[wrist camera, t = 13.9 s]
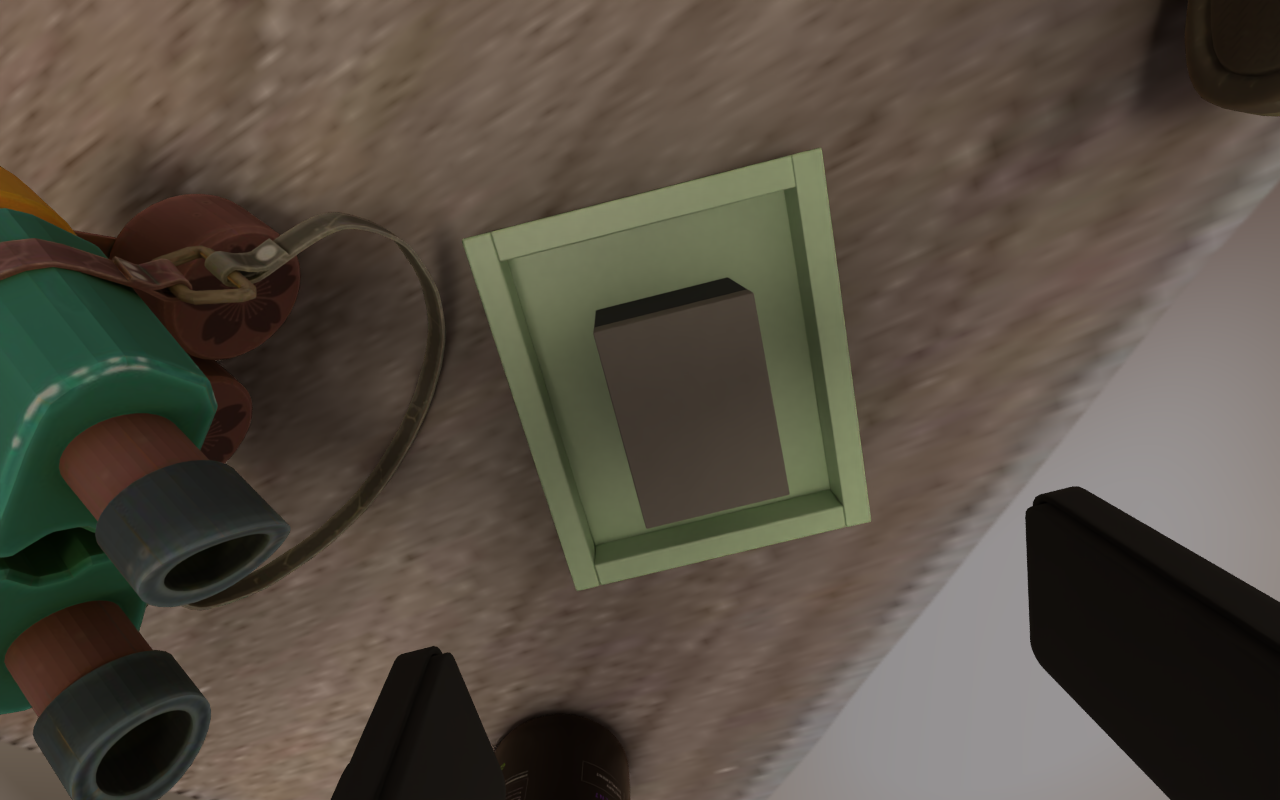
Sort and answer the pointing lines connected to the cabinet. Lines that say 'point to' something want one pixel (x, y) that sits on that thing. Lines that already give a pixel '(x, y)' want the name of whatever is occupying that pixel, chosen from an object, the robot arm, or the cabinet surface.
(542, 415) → the rectangular tray
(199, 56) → the cabinet surface
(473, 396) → the cabinet surface
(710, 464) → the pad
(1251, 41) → the boat shoe
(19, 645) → the binoculars
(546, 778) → the supplement bottle
